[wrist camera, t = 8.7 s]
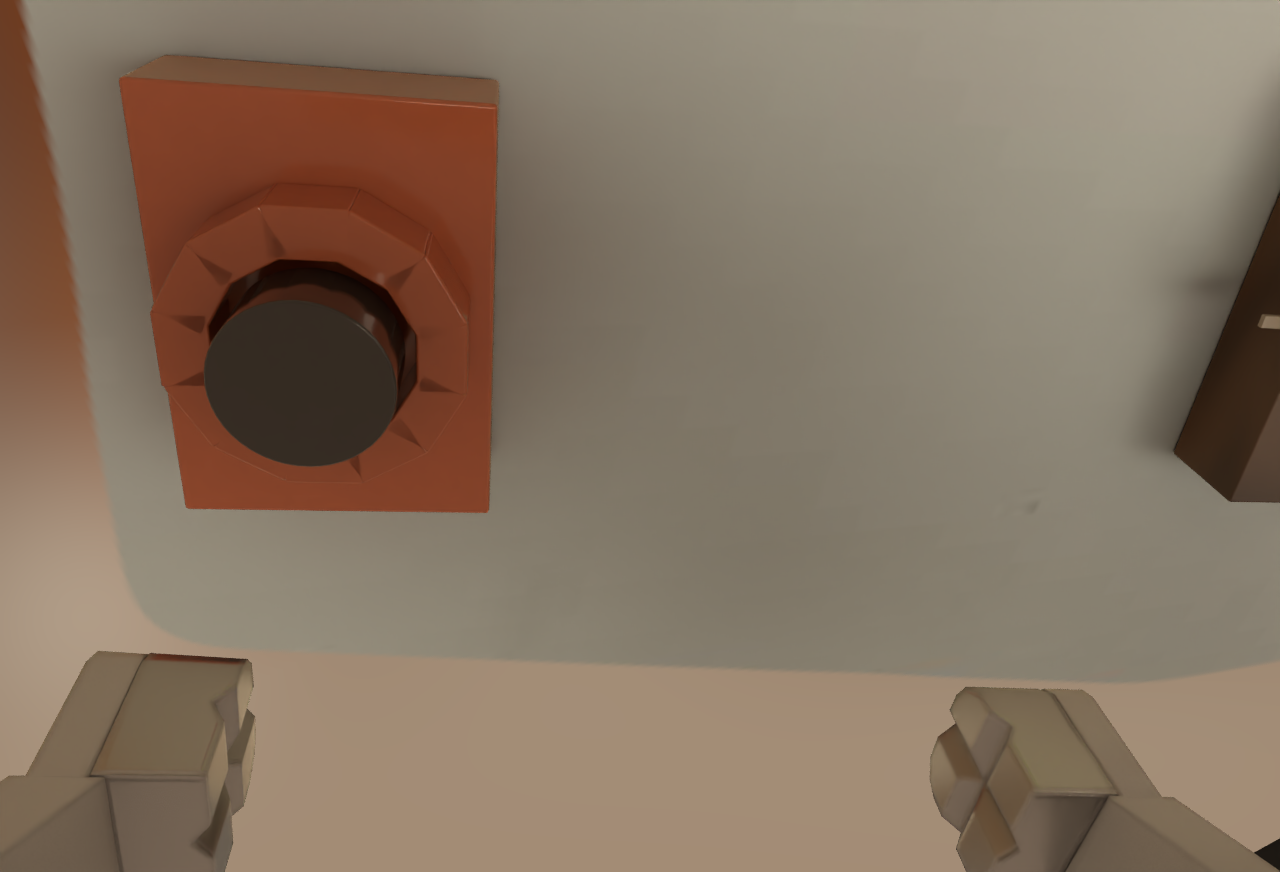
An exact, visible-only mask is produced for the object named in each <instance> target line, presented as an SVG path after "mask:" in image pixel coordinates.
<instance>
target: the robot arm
mask: <svg viewBox="0 0 1280 872" xmlns="http://www.w3.org/2000/svg"><path fill="white" fill-rule="evenodd" d="M253 686H254V685H253V673H252V663H251V662H250V661H249V660H248V659H236V658H220V657H204V656H188V655H187V656H186V655H171V654H156V653H155V654H154V653H150V654H137V653H122V652H108V651H98V652H96V653H95V654H94V655H93V656H92V657H91V658H90V659H89V660H88V661H86V663H85V665H84V667H83V669H82V670H81V672H80V674H79V676H78V678H77V680H76V682H75V684H74V686H73V687H72V689H71V691H70V693H69V695H68V697H67V699H66V701H65V702H64V704H63V706H62V708H61V710H60V712H59V714H58V716H57V717H56V719H55V721H54V723H53V725H52V727H51V729H50V731H49V732H48V734H47V736H46V738H45V740H44V742H43V744H42V746H41V748H40V749H39V751H38V753H37V755H36V757H35V759H34V761H33V763H32V765H31V766H30V768H29V770H28V772H27V774H26V776H8V777H6V778H5V779H4V780H2V781H1V782H0V872H225V869H226V866H227V862H228V859H229V855H230V852H231V848H232V845H233V833H232V815H234V814H235V813H236V812H237V811H238V810H240V809H241V808H242V807H243V806H244V802H245V799H246V795H247V791H248V787H249V784H250V778H251V772H252V766H253V760H254V754H255V736H256V727H255V716H254V715H253V714H252V713H251V712H250V711H249V710H248V709H247V706H248V703H249V700H250V696H251V693H252V690H253ZM950 712H951V714H952V716H953V718H954V720H955V723H956V724H954V725H953V726H952V727H950V728H949V729H948V730H947V731H945V732H944V733H942V734H941V735H940V736H939V737H938V739H937V741H936V744H935V746H934V749H933V752H932V754H931V758H930V783H931V787H932V792H933V796H934V799H935V802H936V804H937V806H938V809H939V811H940V814H941V816H942V817H943V818H944V819H946V820H947V821H948V822H949V823H950V824H952V825H953V826H954V827H955V828H956V829H957V830H959V831H960V832H961V834H960V837H959V841H958V844H957V848H956V850H957V852H958V854H959V856H960V859H961V861H962V863H963V865H964V868H965V870H966V872H1280V871H1279V870H1278V869H1276V868H1275V867H1273V866H1272V865H1271V864H1269V863H1268V862H1266V861H1265V860H1263V859H1262V858H1260V857H1259V856H1258V855H1256V854H1255V853H1253V852H1252V851H1250V850H1249V849H1247V848H1246V847H1244V846H1243V845H1242V844H1240V843H1239V842H1237V841H1236V840H1234V839H1233V838H1231V837H1230V836H1229V835H1227V834H1226V833H1224V832H1223V831H1221V830H1220V829H1218V828H1217V827H1215V826H1214V825H1213V824H1211V823H1210V822H1208V821H1207V820H1205V819H1204V818H1203V817H1201V816H1200V815H1198V814H1197V813H1195V812H1194V811H1192V810H1191V809H1190V808H1188V807H1187V806H1185V805H1184V804H1182V803H1181V802H1179V801H1178V800H1176V799H1175V798H1173V797H1161V795H1160V794H1159V792H1158V791H1157V789H1156V788H1155V786H1154V785H1153V784H1152V782H1151V781H1150V779H1149V778H1148V776H1147V775H1146V773H1145V772H1144V771H1143V769H1142V768H1141V766H1140V765H1139V763H1138V762H1137V760H1136V759H1135V757H1134V756H1133V755H1132V753H1131V752H1130V750H1129V749H1128V747H1127V746H1126V745H1125V743H1124V742H1123V740H1122V739H1121V737H1120V736H1119V734H1118V733H1117V731H1116V730H1115V728H1114V727H1113V726H1112V724H1111V723H1110V721H1109V720H1108V719H1107V717H1106V716H1105V714H1104V713H1103V711H1102V710H1101V708H1100V707H1099V705H1098V704H1097V702H1096V701H1095V700H1094V698H1093V697H1092V696H1090V695H1089V694H1087V693H1086V692H1085V691H1083V690H1068V689H1067V690H1066V689H1042V690H1039V689H1024V688H989V687H965V688H964V689H963V690H962V691H960V692H959V693H958V694H957V695H956V698H955V700H954V702H953V704H952V706H951V709H950Z"/></svg>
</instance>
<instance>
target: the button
mask: <svg viewBox="0 0 1280 872" xmlns="http://www.w3.org/2000/svg"><path fill="white" fill-rule="evenodd" d="M405 358H406V351H405V342H404V338H403V334H402V331H401V328H400V326H399V323H398V321H397V320H396V318H395V316H394V314H393V313H392V311H391V310H390V309H389V307H388V306H387V304H386V303H385V302H384V301H383V300H382V299H381V298H380V297H379V296H378V295H377V294H376V293H374V292H373V291H372V290H371V289H370V288H368V287H367V286H365V285H364V284H362V283H361V282H359V281H357V280H355V279H353V278H351V277H349V276H347V275H344V274H341V273H338V272H335V271H331V270H326V269H320V268H294V269H287V270H283V271H279V272H276V273H273V274H271V275H269V276H266V277H264V278H263V279H261V280H259V281H258V282H256V283H255V284H254V285H252V286H251V287H250V288H249V289H247V290H246V292H245V293H244V294H243V295H242V296H241V297H240V299H239V300H238V302H237V303H236V305H235V306H234V308H233V309H232V311H231V312H230V314H229V315H228V317H227V318H226V320H225V321H224V323H223V325H222V326H221V328H220V329H219V331H218V332H217V334H216V335H215V337H214V338H213V340H212V342H211V344H210V346H209V348H208V351H207V354H206V358H205V362H204V372H203V373H204V386H205V390H206V395H207V398H208V400H209V403H210V406H211V408H212V410H213V412H214V413H215V415H216V417H217V418H218V420H219V421H220V423H221V424H222V425H223V427H224V428H225V429H226V430H227V431H228V432H229V433H230V434H231V435H232V436H233V437H234V438H235V439H236V440H237V441H239V442H240V443H241V444H242V445H244V446H245V447H247V448H248V449H250V450H251V451H253V452H255V453H257V454H259V455H261V456H263V457H265V458H268V459H270V460H273V461H276V462H280V463H283V464H288V465H294V466H304V467H318V466H327V465H333V464H336V463H340V462H344V461H346V460H349V459H351V458H353V457H355V456H357V455H359V454H361V453H363V452H364V451H366V450H367V449H368V448H370V447H371V446H372V445H373V444H374V443H375V442H376V441H377V440H378V439H379V438H380V437H381V436H382V435H383V433H384V432H385V431H386V429H387V428H388V426H389V424H390V422H391V420H392V417H393V415H394V412H395V408H396V404H397V399H398V395H399V390H400V386H401V381H402V377H403V372H404V367H405Z"/></svg>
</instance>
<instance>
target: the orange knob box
mask: <svg viewBox="0 0 1280 872" xmlns="http://www.w3.org/2000/svg"><path fill="white" fill-rule="evenodd" d="M119 85H120V92H121V98H122V104H123V111H124V117H125V123H126V130H127V136H128V142H129V149H130V155H131V162H132V168H133V174H134V181H135V187H136V193H137V200H138V206H139V213H140V219H141V225H142V232H143V238H144V244H145V251H146V257H147V263H148V270H149V276H150V283H151V289H152V295H153V302H154V304H153V306H152V310H151V312H150V315H151V321H152V328H153V334H154V340H155V346H156V353H157V359H158V365H159V371H160V378H161V384H162V386H164V388H165V390H166V391H167V392H168V397H169V404H170V410H171V416H172V423H173V429H174V435H175V442H176V448H177V455H178V461H179V467H180V474H181V480H182V486H183V493H184V499H185V505H186V508H188V509H240V510H313V511H386V512H459V513H487V512H488V511H489V501H490V474H491V440H492V394H493V348H494V302H495V256H496V209H497V163H498V117H499V82H498V81H496V80H490V79H477V78H464V77H451V76H438V75H425V74H411V73H398V72H385V71H372V70H359V69H346V68H333V67H320V66H307V65H293V64H280V63H267V62H254V61H241V60H228V59H215V58H202V57H188V56H175V55H164V56H162V57H160V58H158V59H156V60H154V61H152V62H150V63H148V64H146V65H144V66H142V67H140V68H138V69H136V70H134V71H132V72H130V73H128V74H126V75H124V76H122V77H120V79H119ZM294 268H320V269H326V270H331V271H335V272H338V273H341V274H344V275H347V276H349V277H351V278H353V279H355V280H357V281H359V282H361V283H362V284H364V285H365V286H367V287H368V288H370V289H371V290H372V291H373V292H374V293H376V294H377V295H378V296H379V297H380V298H381V299H382V300H383V301H384V302H385V303H386V304H387V306H388V307H389V309H390V310H391V311H392V313H393V314H394V316H395V318H396V320H397V321H398V323H399V326H400V328H401V331H402V334H403V338H404V342H405V351H406V358H405V367H404V372H403V377H402V381H401V386H400V390H399V395H398V399H397V404H396V408H395V412H394V415H393V417H392V420H391V422H390V424H389V426H388V428H387V429H386V431H385V432H384V433H383V435H382V436H381V437H380V438H379V439H378V440H377V441H376V442H375V443H374V444H373V445H372V446H371V447H370V448H368V449H367V450H366V451H364V452H363V453H361V454H359V455H357V456H355V457H353V458H351V459H349V460H346V461H344V462H340V463H336V464H333V465H327V466H318V467H304V466H294V465H288V464H283V463H280V462H276V461H273V460H270V459H268V458H265V457H263V456H261V455H259V454H257V453H255V452H253V451H251V450H250V449H248V448H247V447H245V446H244V445H242V444H241V443H240V442H239V441H237V440H236V439H235V438H234V437H233V436H232V435H231V434H230V433H229V432H228V431H227V430H226V429H225V428H224V427H223V425H222V424H221V423H220V421H219V420H218V418H217V417H216V415H215V413H214V412H213V410H212V408H211V406H210V403H209V400H208V398H207V395H206V390H205V386H204V373H203V372H204V362H205V358H206V354H207V351H208V348H209V346H210V344H211V342H212V340H213V338H214V337H215V335H216V334H217V332H218V331H219V329H220V328H221V326H222V325H223V323H224V321H225V320H226V318H227V317H228V315H229V314H230V312H231V311H232V309H233V308H234V306H235V305H236V303H237V302H238V300H239V299H240V297H241V296H242V295H243V294H244V293H245V292H246V290H247V289H249V288H250V287H251V286H252V285H254V284H255V283H256V282H258V281H259V280H261V279H263V278H264V277H266V276H269V275H271V274H273V273H276V272H279V271H283V270H287V269H294Z"/></svg>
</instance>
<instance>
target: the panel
mask: <svg viewBox="0 0 1280 872" xmlns="http://www.w3.org/2000/svg"><path fill="white" fill-rule="evenodd" d="M1174 454H1175V455H1176V456H1177V457H1179V458H1180V459H1181V460H1182V461H1183V462H1184V463H1186V464H1187V465H1188V466H1189V467H1190V468H1191V469H1192V470H1194V471H1195V472H1196V473H1197V474H1198V475H1199V476H1201V477H1202V478H1203V479H1204V480H1205V481H1206V482H1207V483H1209V484H1210V485H1211V486H1212V487H1213V488H1214V489H1216V490H1217V491H1218V492H1219V493H1220V494H1221V495H1222V496H1224V497H1225V498H1226V499H1227V500H1228V501H1230V502H1279V503H1280V195H1279V197H1278V200H1277V202H1276V205H1275V207H1274V210H1273V212H1272V214H1271V217H1270V219H1269V222H1268V224H1267V227H1266V229H1265V232H1264V234H1263V236H1262V239H1261V241H1260V244H1259V246H1258V249H1257V251H1256V253H1255V256H1254V258H1253V261H1252V263H1251V266H1250V268H1249V271H1248V273H1247V275H1246V278H1245V280H1244V283H1243V285H1242V288H1241V290H1240V293H1239V295H1238V297H1237V300H1236V302H1235V305H1234V307H1233V310H1232V312H1231V314H1230V317H1229V319H1228V322H1227V324H1226V327H1225V329H1224V332H1223V334H1222V336H1221V339H1220V341H1219V344H1218V346H1217V349H1216V351H1215V353H1214V356H1213V358H1212V361H1211V363H1210V366H1209V368H1208V371H1207V373H1206V375H1205V378H1204V380H1203V383H1202V385H1201V388H1200V390H1199V393H1198V395H1197V397H1196V400H1195V402H1194V405H1193V407H1192V410H1191V412H1190V414H1189V417H1188V419H1187V422H1186V424H1185V427H1184V429H1183V432H1182V434H1181V436H1180V439H1179V441H1178V444H1177V446H1176V449H1175V451H1174Z"/></svg>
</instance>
